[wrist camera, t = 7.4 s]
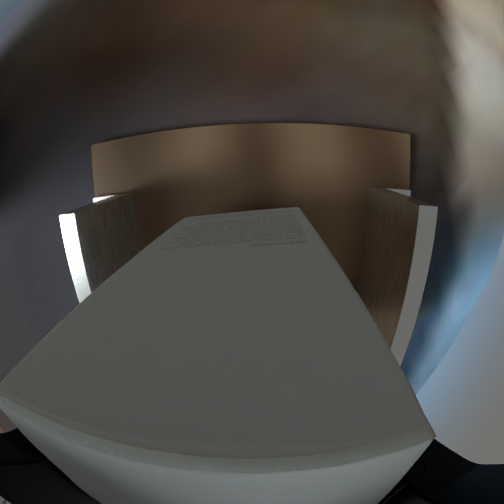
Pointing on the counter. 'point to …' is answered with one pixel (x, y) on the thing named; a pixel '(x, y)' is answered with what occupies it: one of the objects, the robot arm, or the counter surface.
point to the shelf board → (256, 176)
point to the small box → (222, 376)
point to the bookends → (372, 263)
